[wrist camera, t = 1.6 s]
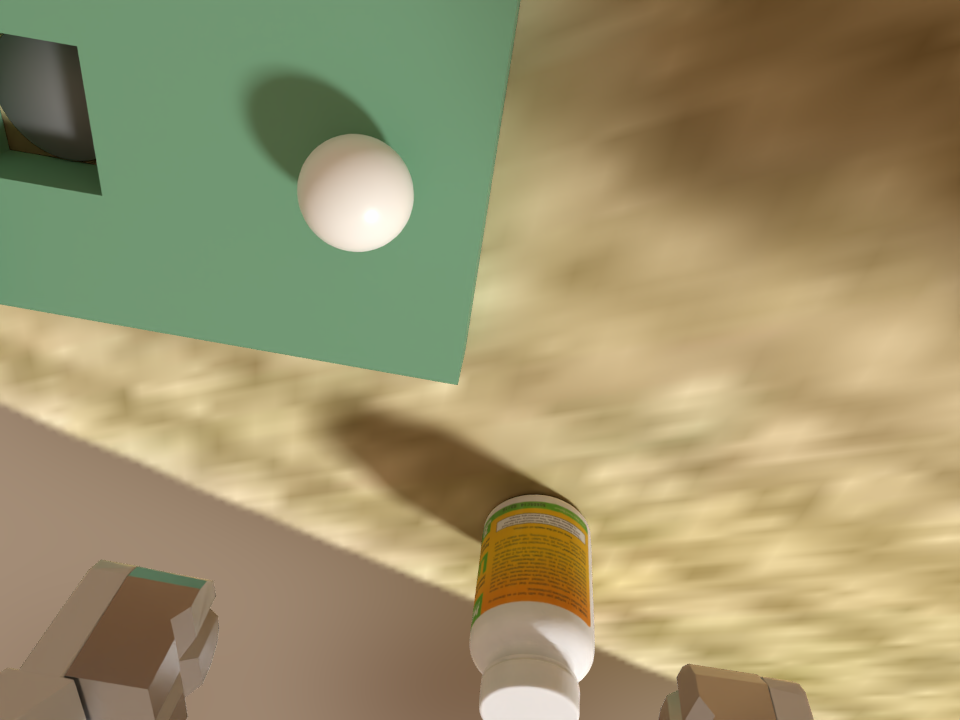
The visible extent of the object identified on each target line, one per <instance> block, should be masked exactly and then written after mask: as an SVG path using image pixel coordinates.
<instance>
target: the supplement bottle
mask: <svg viewBox="0 0 960 720" xmlns="http://www.w3.org/2000/svg"><path fill="white" fill-rule="evenodd" d="M594 645H595V634H594V609H593V581H592V551H591V537H590V530H589V526H588V524H587V522H586V520H585V518H584V517H583V516H582V514H581V513H580V512H579V511H578V510H577V509H575V508H574V507H573V506H571V505H570V504H568V503H566V502H564V501H562V500H560V499H557V498H554V497H551V496H546V495H523V496H518V497H514V498H511V499H509V500H506V501H504V502H503V503H501V504H499V505H498V506H497V507H495V508H494V509H493V510H492V511H491V513H490V514H489V516H488V517H487V519H486V522H485V525H484V530H483V536H482V545H481V554H480V562H479V570H478V578H477V586H476V594H475V601H474V609H473V617H472V625H471V632H470V652H471V656H472V659H473V661H474V663H475V665H476V667H477V668H478V670H479V671H480V672H481V673H482V681H481V689H480V700H479V710H480V714H481V717H482V718H483V720H579V699H580V689H579V686H578V682H579V681H580V680H582V679H583V678H584V677H585V675H586V674H587V673H588V671H589V669H590V668H591V665H592V662H593V658H594Z"/></svg>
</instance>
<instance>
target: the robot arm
mask: <svg viewBox="0 0 960 720" xmlns="http://www.w3.org/2000/svg"><path fill="white" fill-rule="evenodd" d="M215 597H216V593H215V587H214V582H213V581H211V580H206V579H201V578H196V577H191V576H186V575H180V574H175V573H170V572H164V571H158V570H154V569H148V568H143V567H140V566H135V565H129V564H122V563H117V562H111V561H106V560H100V561H99V562H98V563H96V564H95V565H94V566H93V567H92V568H90V569H89V570H88V571H87V573H86V574H85V576H84V577H83V579H82V580H81V581H80V583H79V584H78V586H77V587H76V589H75V590H74V591H73V593H72V594H71V596H70V597H69V599H68V600H67V601H66V603H65V604H64V606H63V607H62V609H61V610H60V611H59V613H58V614H57V616H56V617H55V619H54V620H53V621H52V623H51V624H50V626H49V627H48V629H47V630H46V632H45V633H44V635H43V636H42V637H41V639H40V640H39V642H38V643H37V644H36V646H35V647H34V649H33V650H32V652H31V653H30V655H29V656H28V657H27V659H26V660H25V662H24V663H23V664H22V666H21V667H20V669H14V668H6V669H5V670H3V671H1V672H0V720H186V719H187V710H186V703H185V697H186V696H188V695H189V694H190V693H192V692H193V691H194V690H196V689H197V688H199V687H200V686H201V685H202V684H203V681H204V679H205V677H206V675H207V672H208V670H209V668H210V665H211V662H212V659H213V655H214V652H215V648H216V645H217V640H218V631H219V623H218V616H217V615H216V614H215V613H214V612H213V611H212V610H211V609H210V607H211V605H212V603H213V601H214V599H215ZM677 684H678V691H676V692H673V693H671V694H669V695H667V696H666V698H665V701H664V703H663V705H662V707H661V709H660V714H659V720H814V719H813V715H812V712H811V709H810V706H809V703H808V699H807V696H806V693H805V691H804V690H803V689H802V687H801V686H800V684H798V683H795V682H793V681H786V680H780V679H774V678H767V677H761V676H758V675H756V674H750V673H744V672H737V671H731V670H725V669H719V668H712V667H706V666H700V665H693V664H687V665H685V666H683V667H682V669H681V670H680V672H679V674H678V676H677Z"/></svg>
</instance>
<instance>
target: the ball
mask: <svg viewBox="0 0 960 720" xmlns="http://www.w3.org/2000/svg"><path fill="white" fill-rule="evenodd" d="M297 196H298V203H299V207H300V210H301V213H302V215H303V217H304V219H305V221H306V223H307V224H308V226H309V227H310V229H311V230H312V231H313V232H314V233H315V234H316V235H317V236H318V237H319V238H320V239H322V240H323V241H324V242H326V243H327V244H329V245H331V246H333V247H335V248H338V249H341V250H345V251H352V252H365V251H370V250H374V249H377V248H380V247H382V246H384V245H386V244H387V243H389V242H390V241H392V240H393V239H394V238H395V237H397V236H398V234H399V233H400V232H401V231H402V230H403V228H404V227H405V225H406V224H407V222H408V220H409V218H410V215H411V211H412V208H413V202H414V189H413V182H412V178H411V175H410V173H409V170H408V168H407V167H406V165H405V163H404V161H403V160H402V158H401V157H400V156H399V155H398V154H397V153H396V151H394V150H393V149H392V148H391V147H390V146H388V145H387V144H386V143H384V142H382V141H380V140H378V139H376V138H373V137H371V136H367V135H362V134H345V135H340V136H336V137H333V138H331V139H329V140H327V141H325V142H323V143H322V144H320V145H319V146H318V147H316V148H315V149H314V150H313V151H312V152H311V154H310V155H309V156H308V157H307V159H306V160H305V162H304V164H303V166H302V168H301V171H300V174H299V178H298V184H297Z"/></svg>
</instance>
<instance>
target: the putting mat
mask: <svg viewBox="0 0 960 720" xmlns="http://www.w3.org/2000/svg"><path fill="white" fill-rule="evenodd" d="M519 6H520V0H0V33H4V34H3V35H2V36H1V37H0V105H1V107H2V109H3V111H4V112H5V114H6V115H7V117H8V118H9V120H10V121H11V122H12V123H13V125H14V126H15V127H16V128H17V129H18V130H19V131H20V132H21V133H22V134H23V135H24V136H25V137H26V138H27V139H28V140H29V141H31V142H32V143H33V144H35V145H36V146H37V147H39V148H41V149H42V150H44V151H46V152H48V153H50V154H52V155H54V156H57V157H60V158H63V159H59V158H54V157H48V156H42V155H37V154H31V153H25V152H19V151H14V150H10V149H9V145H8V141H7V137H6V133H5V128H4V124H3V120H2V116H1V111H0V304H2V305H7V306H13V307H19V308H24V309H30V310H36V311H41V312H47V313H53V314H58V315H64V316H70V317H75V318H81V319H87V320H92V321H98V322H104V323H109V324H115V325H121V326H126V327H132V328H138V329H143V330H149V331H155V332H160V333H166V334H172V335H177V336H183V337H189V338H194V339H200V340H206V341H211V342H217V343H223V344H228V345H234V346H240V347H245V348H251V349H257V350H262V351H268V352H274V353H279V354H285V355H291V356H296V357H302V358H308V359H313V360H319V361H325V362H330V363H336V364H342V365H347V366H353V367H359V368H364V369H370V370H376V371H381V372H387V373H393V374H398V375H404V376H410V377H415V378H421V379H426V380H432V381H438V382H443V383H449V384H455V385H458V381H459V377H460V372H461V367H462V363H463V358H464V354H465V348H466V342H467V336H468V329H469V323H470V317H471V310H472V304H473V298H474V291H475V285H476V278H477V272H478V266H479V259H480V253H481V247H482V240H483V234H484V228H485V221H486V215H487V209H488V202H489V196H490V190H491V183H492V177H493V171H494V164H495V158H496V152H497V145H498V139H499V133H500V126H501V120H502V114H503V107H504V101H505V95H506V88H507V82H508V76H509V69H510V63H511V57H512V50H513V44H514V38H515V31H516V25H517V19H518V12H519ZM345 134H362V135H367V136H371V137H373V138H376V139H378V140H380V141H382V142H384V143H386V144H387V145H388V146H390V147H391V148H392V149H393V150H394V151H396V153H397V154H398V155H399V156H400V157H401V158H402V160H403V161H404V163H405V165H406V167H407V168H408V170H409V173H410V175H411V178H412V182H413V189H414V202H413V208H412V211H411V215H410V218H409V220H408V222H407V224H406V225H405V227H404V228H403V230H402V231H401V232H400V233H399V234H398V236H397V237H395V238H394V239H393V240H392V241H390V242H389V243H387V244H386V245H384V246H382V247H380V248H377V249H374V250H370V251H365V252H352V251H345V250H341V249H338V248H335V247H333V246H331V245H329V244H327V243H326V242H324V241H323V240H322V239H320V238H319V237H318V236H317V235H316V234H315V233H314V232H313V231H312V230H311V229H310V227H309V226H308V224H307V223H306V221H305V219H304V217H303V215H302V213H301V210H300V207H299V203H298V196H297V184H298V178H299V174H300V171H301V168H302V166H303V164H304V162H305V160H306V159H307V157H308V156H309V155H310V154H311V152H312V151H313V150H314V149H315V148H316V147H318V146H319V145H320V144H322V143H323V142H325V141H327V140H329V139H331V138H333V137H336V136H340V135H345ZM65 159H67V160H65ZM93 159H96V162H97V165H93V164H88V163H82V162H76V161H88V160H93ZM71 160H73V161H71Z"/></svg>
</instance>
